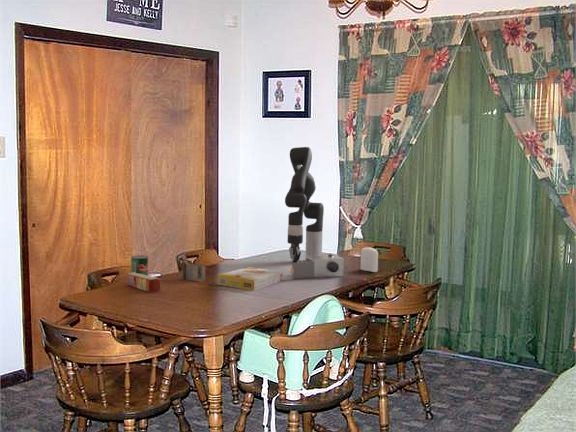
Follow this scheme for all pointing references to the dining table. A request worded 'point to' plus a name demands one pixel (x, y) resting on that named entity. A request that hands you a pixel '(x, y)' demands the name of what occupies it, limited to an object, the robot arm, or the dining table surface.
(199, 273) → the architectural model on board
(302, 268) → the side door
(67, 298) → the dining table surface
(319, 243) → the robot arm
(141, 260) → the canned tomato
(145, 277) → the snack package
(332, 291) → the dining table surface
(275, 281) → the cereal box
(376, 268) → the photo printer
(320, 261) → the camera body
